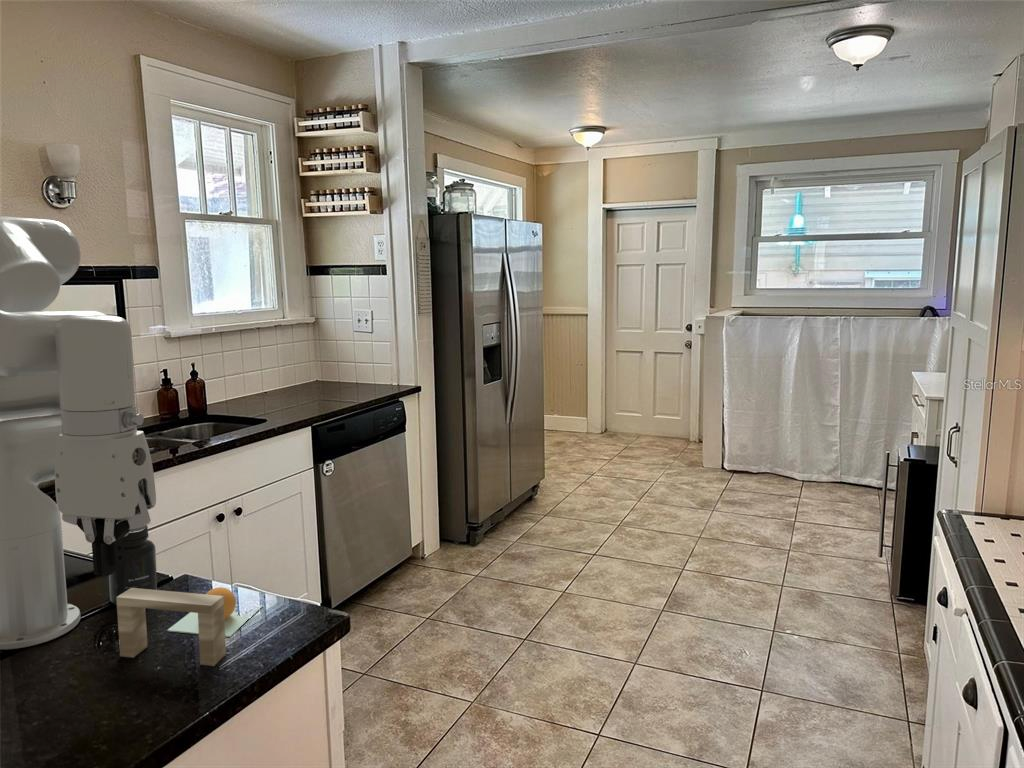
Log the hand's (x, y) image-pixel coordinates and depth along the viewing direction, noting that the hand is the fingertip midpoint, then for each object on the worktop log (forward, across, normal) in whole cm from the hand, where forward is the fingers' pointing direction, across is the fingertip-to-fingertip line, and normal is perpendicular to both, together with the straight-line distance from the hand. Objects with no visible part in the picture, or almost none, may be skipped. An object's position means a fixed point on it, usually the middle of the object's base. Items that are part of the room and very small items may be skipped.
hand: (109, 570), depth 84 cm
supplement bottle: (+17, +17, -26) cm, 36 cm away
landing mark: (+17, 0, -22) cm, 28 cm away
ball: (+15, 0, -22) cm, 26 cm away
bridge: (+17, 0, -11) cm, 20 cm away
